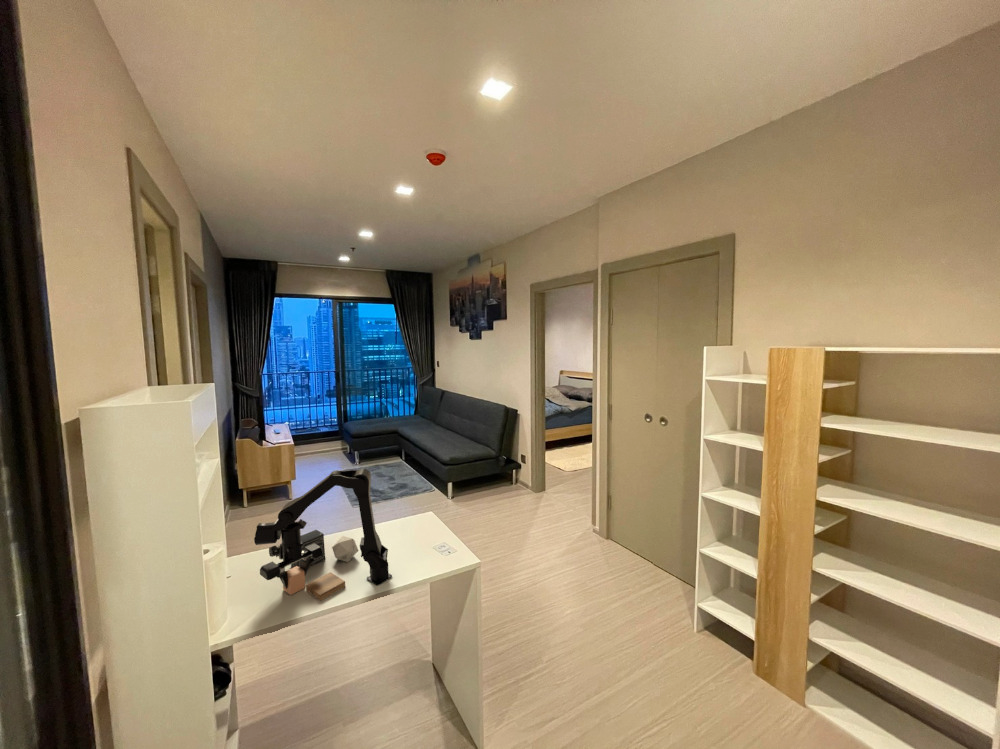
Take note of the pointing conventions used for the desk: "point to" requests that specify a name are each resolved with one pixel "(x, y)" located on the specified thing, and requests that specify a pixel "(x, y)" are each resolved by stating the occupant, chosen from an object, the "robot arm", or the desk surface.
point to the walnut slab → (325, 586)
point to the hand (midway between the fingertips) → (294, 584)
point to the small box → (312, 538)
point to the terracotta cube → (295, 580)
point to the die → (345, 548)
